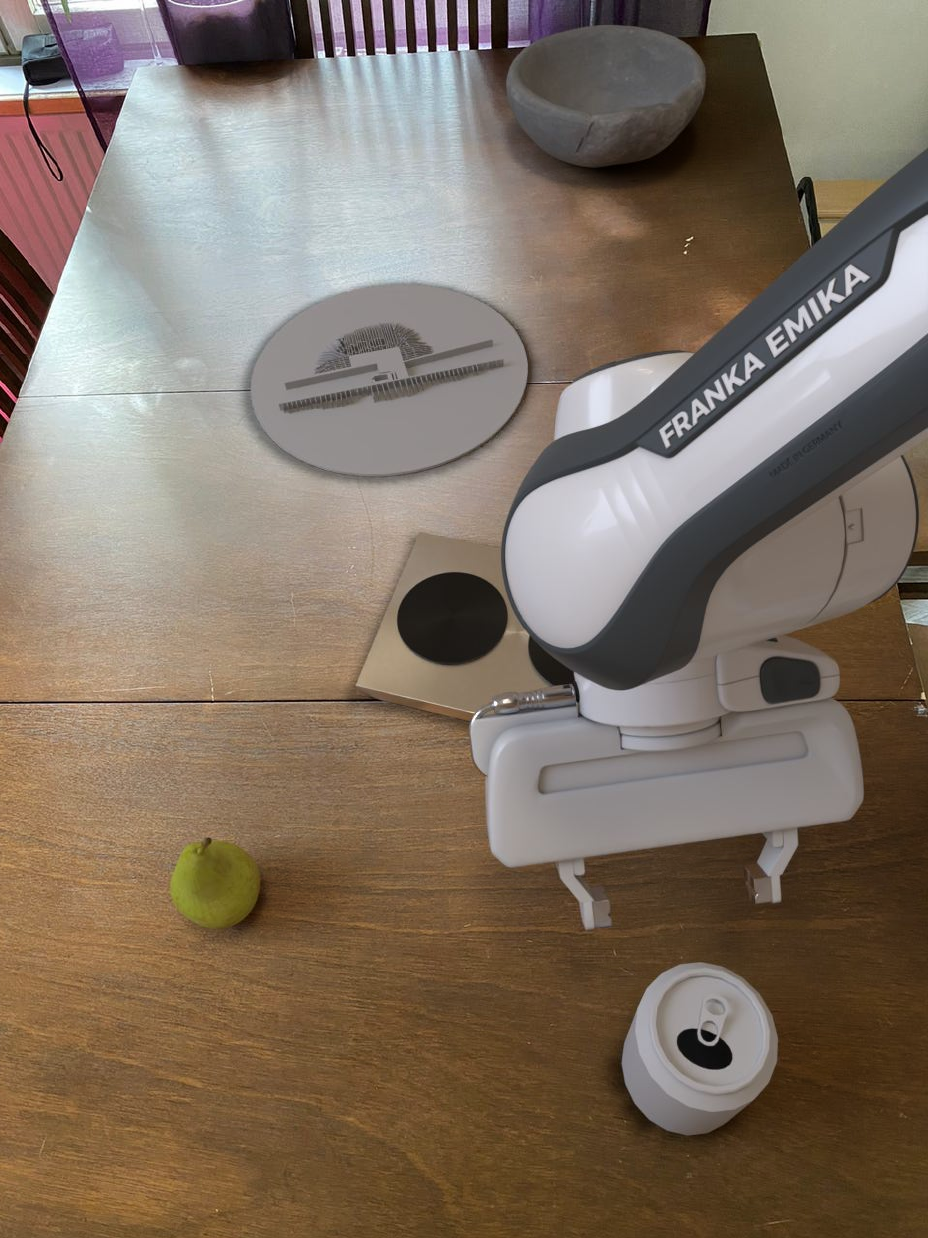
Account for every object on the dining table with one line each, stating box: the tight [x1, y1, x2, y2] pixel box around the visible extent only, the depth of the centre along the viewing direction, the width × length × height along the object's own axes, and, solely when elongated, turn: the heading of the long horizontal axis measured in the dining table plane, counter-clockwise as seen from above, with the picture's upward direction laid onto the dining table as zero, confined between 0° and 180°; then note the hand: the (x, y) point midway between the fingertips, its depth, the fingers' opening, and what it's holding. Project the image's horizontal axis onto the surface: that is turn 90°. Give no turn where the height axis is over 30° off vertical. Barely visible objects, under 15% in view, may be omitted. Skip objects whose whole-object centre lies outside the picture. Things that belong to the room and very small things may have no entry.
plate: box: [250, 283, 529, 478], centre depth 97 cm, size 28×28×1 cm
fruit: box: [169, 837, 261, 930], centre depth 63 cm, size 6×6×12 cm
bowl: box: [505, 24, 707, 169], centre depth 115 cm, size 23×22×10 cm
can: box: [621, 961, 779, 1136], centre depth 55 cm, size 8×8×12 cm
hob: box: [355, 531, 578, 722], centre depth 78 cm, size 22×16×2 cm
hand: (680, 912), depth 54 cm, fingers open, 8 cm apart
